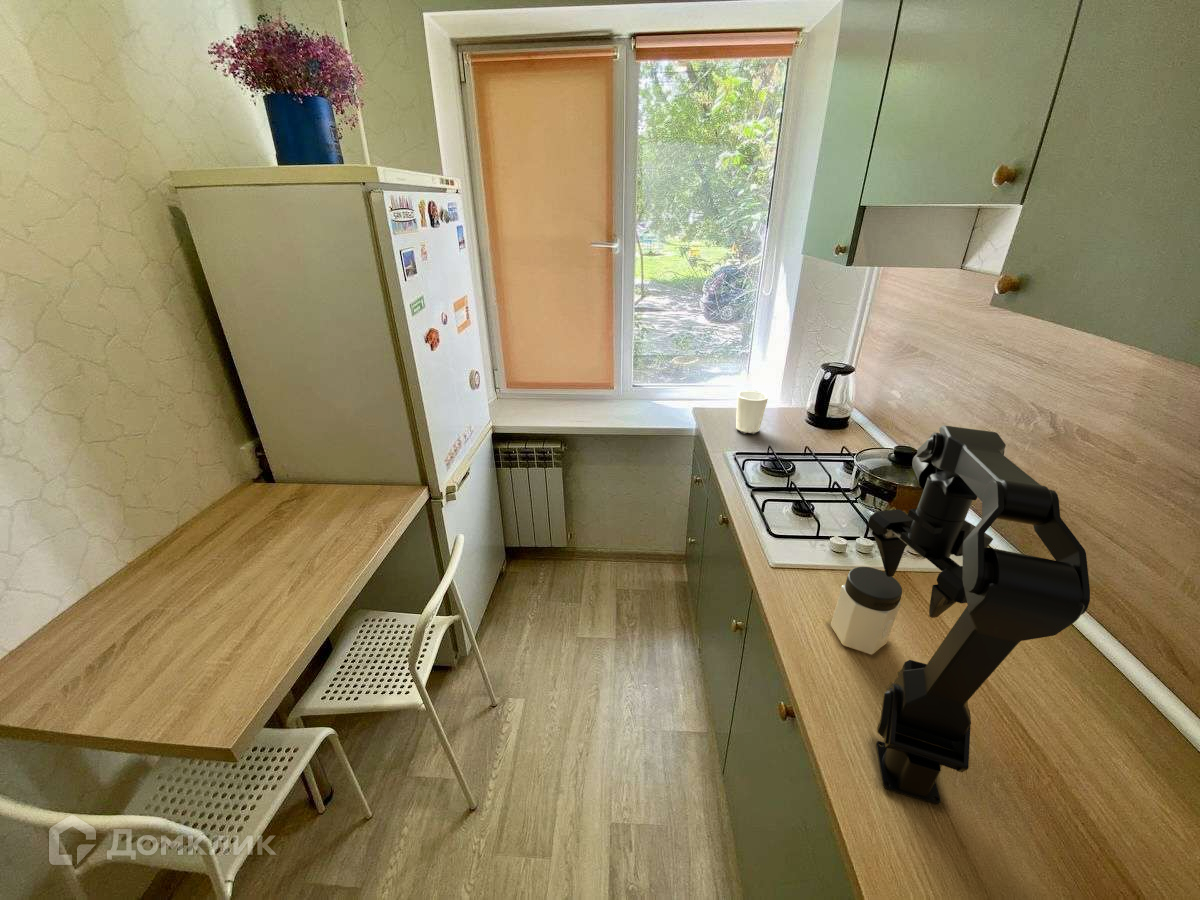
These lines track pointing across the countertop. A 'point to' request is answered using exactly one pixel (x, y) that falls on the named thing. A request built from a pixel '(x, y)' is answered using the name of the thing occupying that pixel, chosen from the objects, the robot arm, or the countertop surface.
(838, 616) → the jar
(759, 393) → the cup
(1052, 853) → the countertop surface
